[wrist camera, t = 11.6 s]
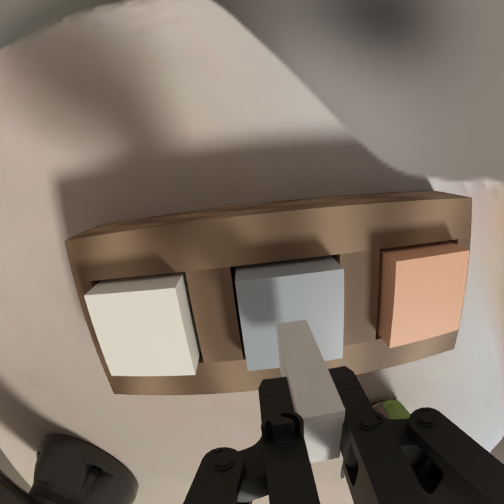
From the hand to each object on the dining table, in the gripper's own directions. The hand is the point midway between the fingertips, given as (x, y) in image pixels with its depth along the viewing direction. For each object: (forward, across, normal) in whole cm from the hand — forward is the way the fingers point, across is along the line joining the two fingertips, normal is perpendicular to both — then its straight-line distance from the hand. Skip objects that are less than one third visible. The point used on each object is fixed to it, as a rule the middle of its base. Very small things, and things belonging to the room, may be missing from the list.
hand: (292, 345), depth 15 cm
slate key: (+6, 0, 0) cm, 6 cm away
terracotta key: (+6, +9, 0) cm, 11 cm away
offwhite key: (+6, -9, 0) cm, 10 cm away
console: (+9, 0, 0) cm, 9 cm away
